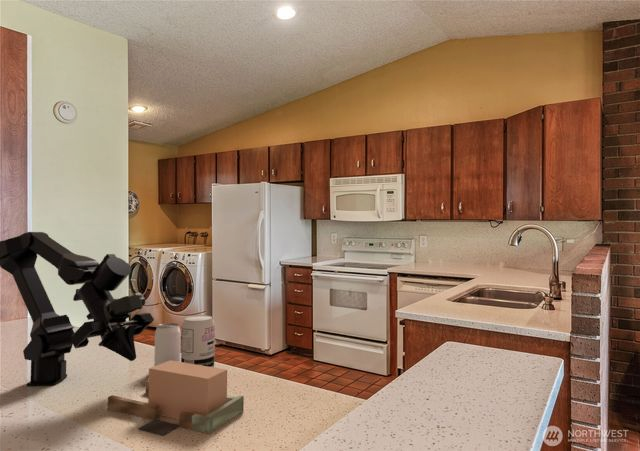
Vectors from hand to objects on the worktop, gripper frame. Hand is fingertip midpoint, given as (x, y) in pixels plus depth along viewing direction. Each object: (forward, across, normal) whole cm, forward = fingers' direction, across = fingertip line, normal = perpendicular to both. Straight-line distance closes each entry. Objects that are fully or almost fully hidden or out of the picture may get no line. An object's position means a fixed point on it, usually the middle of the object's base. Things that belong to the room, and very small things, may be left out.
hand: (133, 359), depth 91 cm
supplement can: (+9, +18, +2) cm, 20 cm away
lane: (+15, -1, -3) cm, 15 cm away
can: (+2, +19, +10) cm, 22 cm away
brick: (+17, -1, -6) cm, 18 cm away
